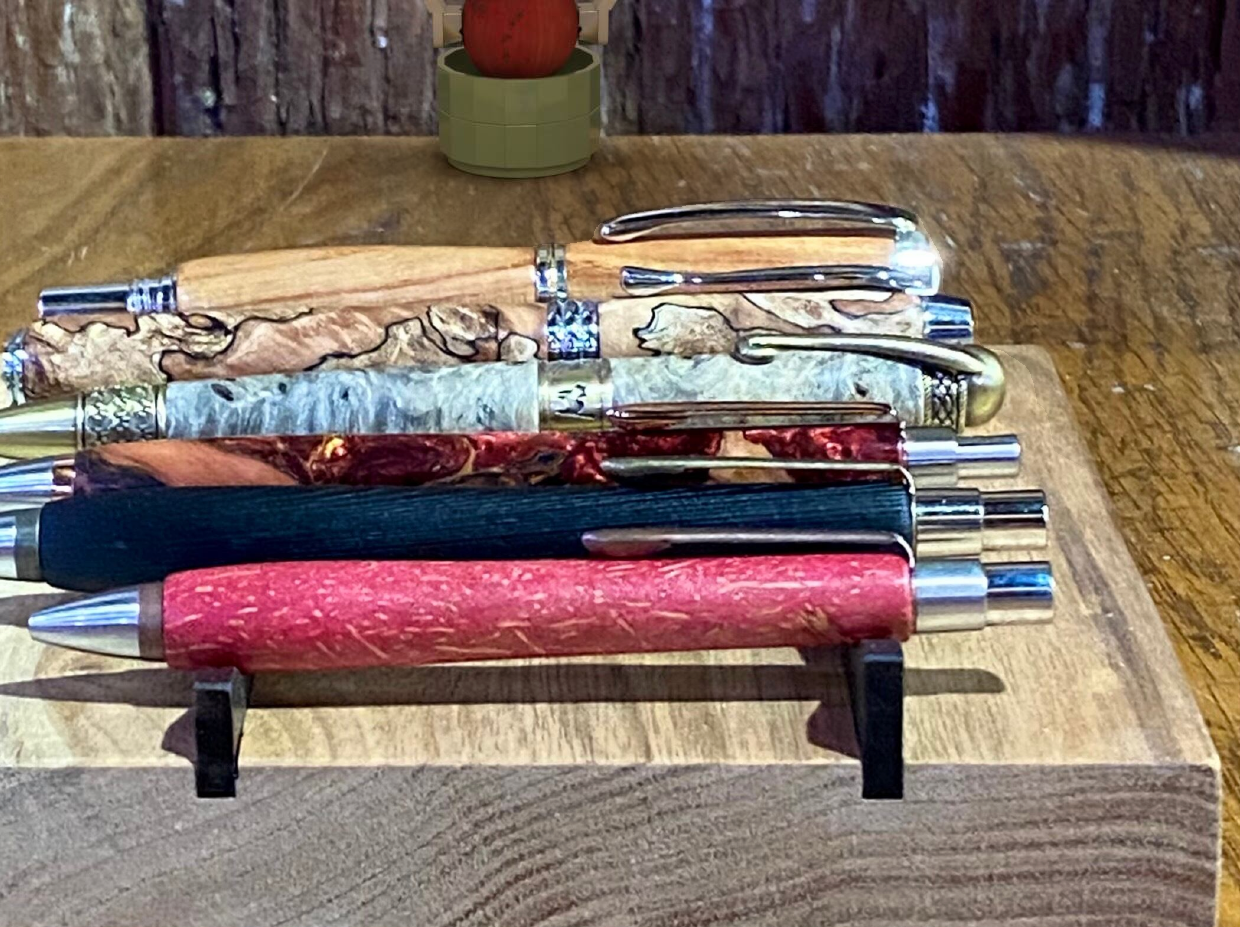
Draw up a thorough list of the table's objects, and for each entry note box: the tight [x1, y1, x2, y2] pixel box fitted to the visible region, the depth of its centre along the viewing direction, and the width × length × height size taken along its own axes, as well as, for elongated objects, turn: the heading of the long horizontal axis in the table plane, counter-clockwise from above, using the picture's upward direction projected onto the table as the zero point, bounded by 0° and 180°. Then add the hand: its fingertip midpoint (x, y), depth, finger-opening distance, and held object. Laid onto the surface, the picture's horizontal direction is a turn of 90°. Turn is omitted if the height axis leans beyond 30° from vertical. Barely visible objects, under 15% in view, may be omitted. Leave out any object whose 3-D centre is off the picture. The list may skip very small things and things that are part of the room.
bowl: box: [437, 44, 601, 179], centre depth 114 cm, size 8×8×5 cm
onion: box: [461, 0, 579, 79], centre depth 112 cm, size 6×6×8 cm
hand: (519, 44), depth 112 cm, fingers closed on onion, 6 cm apart
